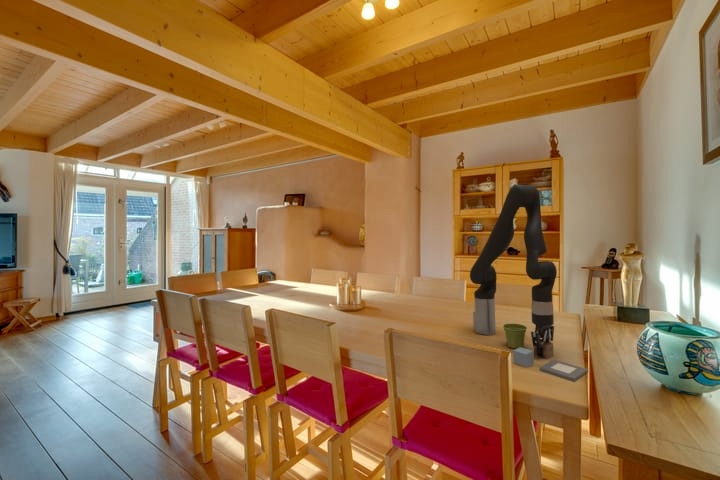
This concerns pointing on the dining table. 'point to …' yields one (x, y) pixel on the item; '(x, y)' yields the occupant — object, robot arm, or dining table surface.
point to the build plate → (564, 370)
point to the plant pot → (515, 335)
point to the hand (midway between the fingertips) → (543, 354)
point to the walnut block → (545, 350)
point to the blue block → (523, 357)
